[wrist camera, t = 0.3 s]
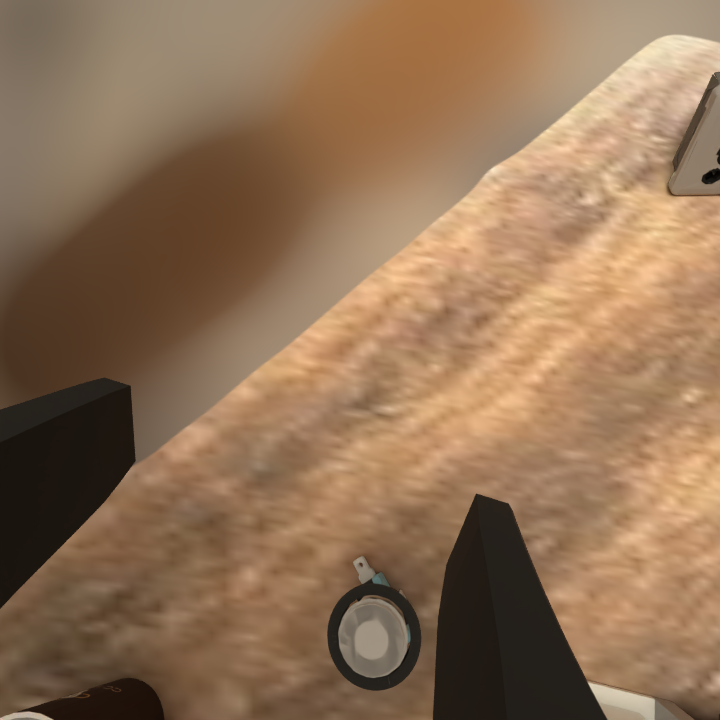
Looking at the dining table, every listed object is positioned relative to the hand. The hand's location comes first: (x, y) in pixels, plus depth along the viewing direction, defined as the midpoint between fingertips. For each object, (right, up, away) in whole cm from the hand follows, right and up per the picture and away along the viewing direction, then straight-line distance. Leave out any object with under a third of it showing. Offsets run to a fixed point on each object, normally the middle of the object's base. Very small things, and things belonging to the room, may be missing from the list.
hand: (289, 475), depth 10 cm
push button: (+3, -16, +26) cm, 31 cm away
